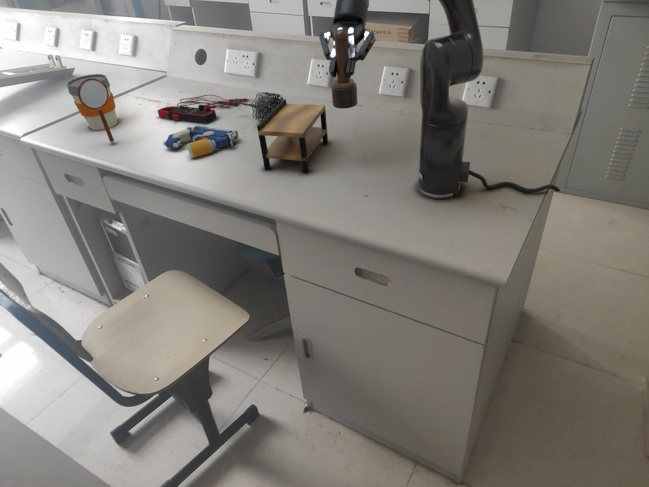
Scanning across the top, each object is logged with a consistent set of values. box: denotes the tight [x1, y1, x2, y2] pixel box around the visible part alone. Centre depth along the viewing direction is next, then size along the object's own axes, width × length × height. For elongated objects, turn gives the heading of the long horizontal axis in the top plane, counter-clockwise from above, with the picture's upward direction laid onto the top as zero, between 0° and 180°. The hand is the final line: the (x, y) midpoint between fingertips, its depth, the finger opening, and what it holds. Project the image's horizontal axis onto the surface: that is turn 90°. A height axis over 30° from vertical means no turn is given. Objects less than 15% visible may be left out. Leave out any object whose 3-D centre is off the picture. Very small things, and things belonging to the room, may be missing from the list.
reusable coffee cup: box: [66, 73, 118, 131], centre depth 150 cm, size 13×13×15 cm
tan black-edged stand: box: [256, 98, 329, 174], centre depth 121 cm, size 12×18×12 cm, turn 162°
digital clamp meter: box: [157, 94, 253, 125], centre depth 157 cm, size 23×4×25 cm
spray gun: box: [162, 125, 240, 159], centre depth 133 cm, size 21×4×15 cm
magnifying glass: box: [78, 78, 115, 145], centre depth 135 cm, size 9×2×20 cm, turn 139°
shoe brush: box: [330, 29, 358, 110], centre depth 106 cm, size 6×6×17 cm
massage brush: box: [233, 91, 288, 123], centre depth 143 cm, size 9×22×9 cm, turn 56°
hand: (340, 75), depth 105 cm, fingers closed on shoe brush, 3 cm apart
